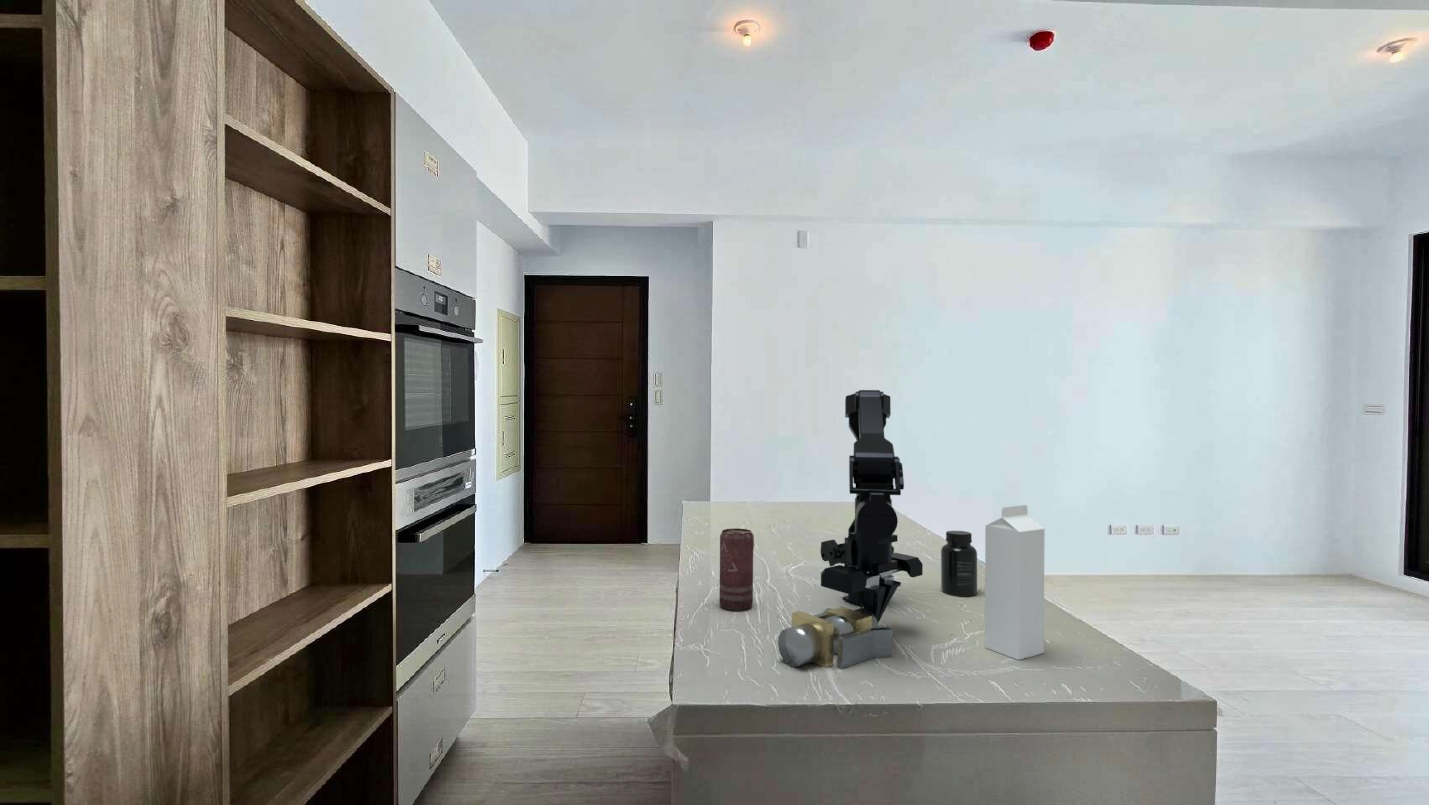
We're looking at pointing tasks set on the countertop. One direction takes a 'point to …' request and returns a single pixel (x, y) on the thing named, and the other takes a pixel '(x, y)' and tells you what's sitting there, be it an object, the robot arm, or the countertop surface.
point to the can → (736, 569)
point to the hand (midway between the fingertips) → (873, 626)
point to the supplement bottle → (959, 564)
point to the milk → (1014, 584)
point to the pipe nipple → (850, 622)
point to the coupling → (830, 642)
